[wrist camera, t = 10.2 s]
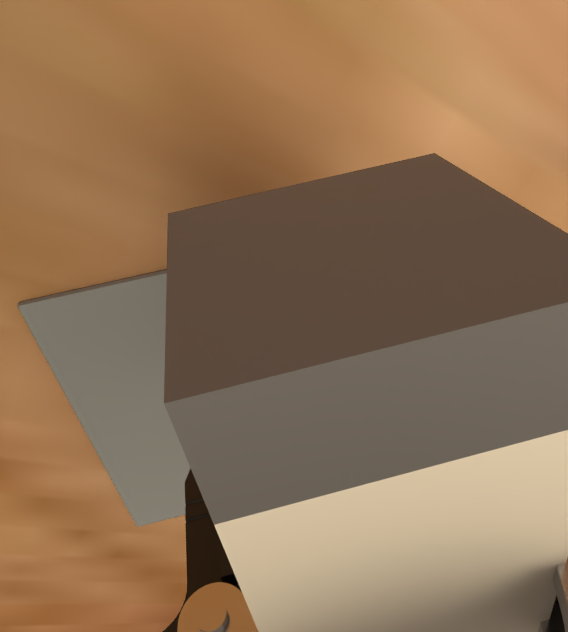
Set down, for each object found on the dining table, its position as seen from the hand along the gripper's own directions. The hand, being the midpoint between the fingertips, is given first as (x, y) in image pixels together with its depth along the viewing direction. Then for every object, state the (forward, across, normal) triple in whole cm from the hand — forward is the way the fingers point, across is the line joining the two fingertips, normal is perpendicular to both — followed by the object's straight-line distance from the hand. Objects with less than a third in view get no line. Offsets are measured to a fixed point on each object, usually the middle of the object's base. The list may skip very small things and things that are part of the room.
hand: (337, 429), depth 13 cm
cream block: (-3, 0, +8) cm, 8 cm away
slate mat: (+21, +6, +17) cm, 27 cm away
